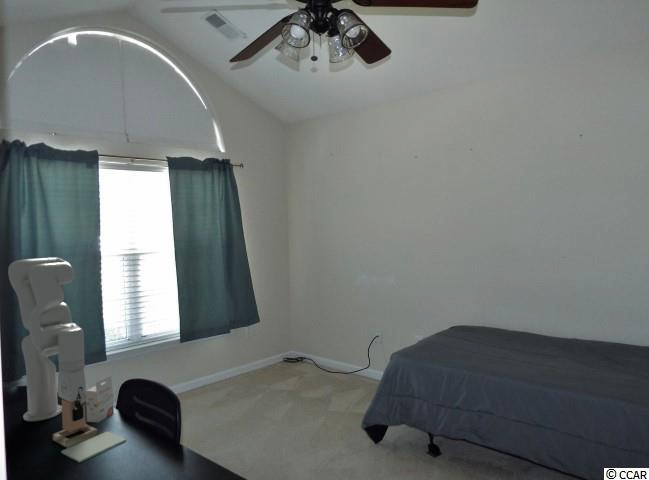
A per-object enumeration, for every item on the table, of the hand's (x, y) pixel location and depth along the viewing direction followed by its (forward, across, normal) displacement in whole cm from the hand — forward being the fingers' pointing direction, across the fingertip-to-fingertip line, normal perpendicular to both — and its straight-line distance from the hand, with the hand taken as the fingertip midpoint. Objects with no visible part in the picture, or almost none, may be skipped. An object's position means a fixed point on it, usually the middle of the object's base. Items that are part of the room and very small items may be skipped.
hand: (73, 417), depth 145 cm
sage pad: (+7, +13, 0) cm, 14 cm away
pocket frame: (+7, +1, 0) cm, 7 cm away
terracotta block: (+4, 0, 0) cm, 4 cm away
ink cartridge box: (+7, -7, +13) cm, 16 cm away
